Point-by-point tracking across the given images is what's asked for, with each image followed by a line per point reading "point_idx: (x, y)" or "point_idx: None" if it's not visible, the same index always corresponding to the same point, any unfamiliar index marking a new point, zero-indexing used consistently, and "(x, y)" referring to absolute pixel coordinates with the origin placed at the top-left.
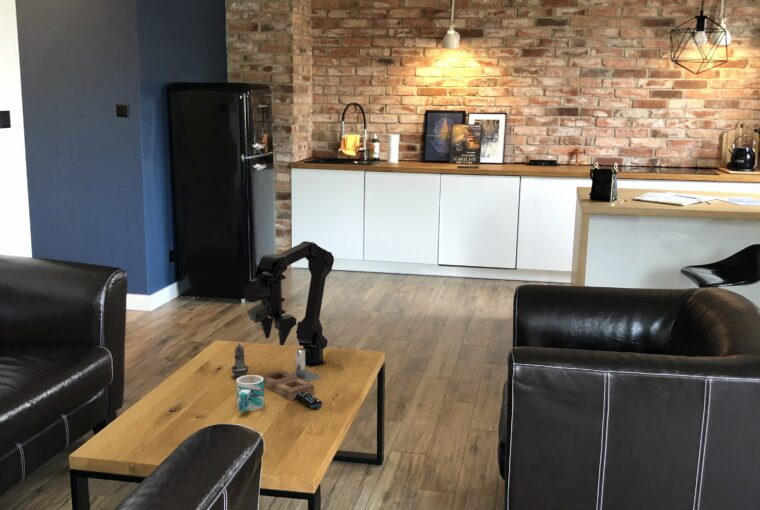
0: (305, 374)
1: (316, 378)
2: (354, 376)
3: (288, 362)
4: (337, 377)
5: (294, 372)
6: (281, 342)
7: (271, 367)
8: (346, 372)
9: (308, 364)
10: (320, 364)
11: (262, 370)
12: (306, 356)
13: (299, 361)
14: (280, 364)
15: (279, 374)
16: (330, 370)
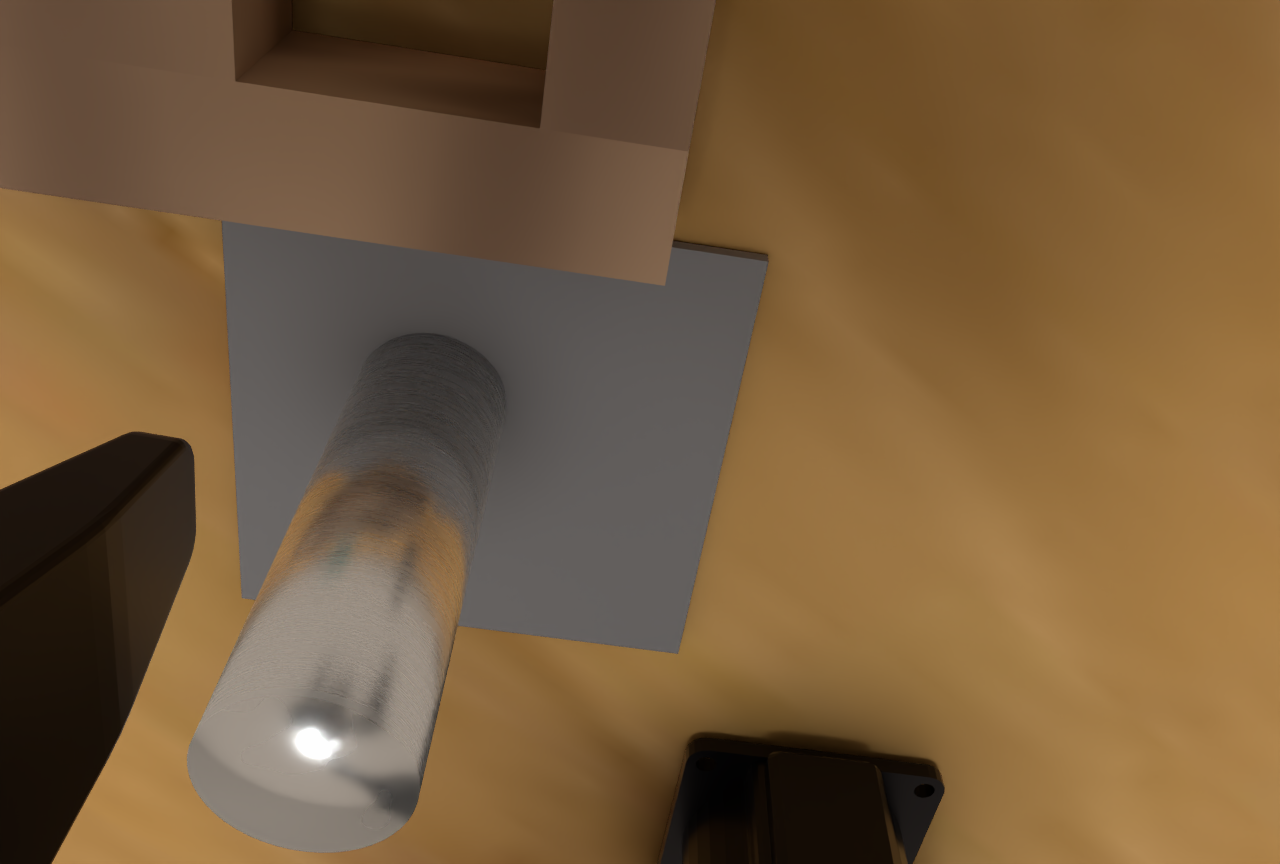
0: (509, 535)
1: (261, 526)
2: (74, 823)
3: (1100, 696)
4: (161, 707)
5: (700, 493)
6: (11, 516)
7: (1197, 437)
8: (250, 850)
9: (756, 765)
10: (663, 844)
11: (1250, 255)
12: (783, 854)
13: (290, 544)
14: (1152, 592)
15: (544, 104)
16: (435, 798)
